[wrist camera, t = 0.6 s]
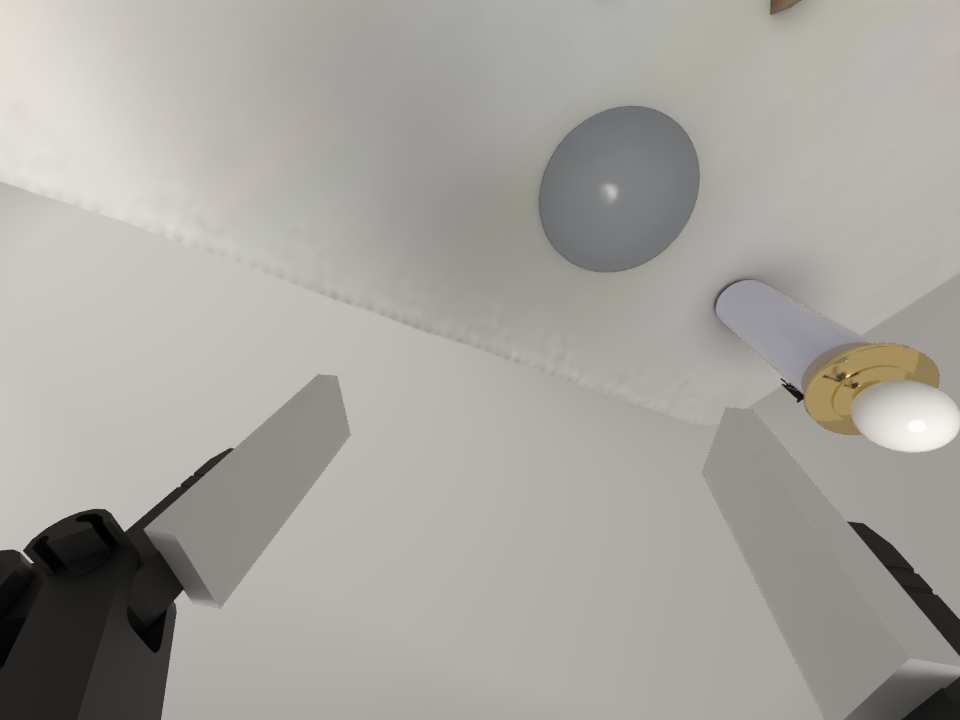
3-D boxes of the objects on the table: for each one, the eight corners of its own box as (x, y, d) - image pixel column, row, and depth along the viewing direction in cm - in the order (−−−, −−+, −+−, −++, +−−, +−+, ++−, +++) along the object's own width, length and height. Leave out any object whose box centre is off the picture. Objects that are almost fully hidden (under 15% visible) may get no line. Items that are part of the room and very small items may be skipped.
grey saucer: (526, 137, 31) (526, 137, 30) (694, 82, 28) (698, 79, 27) (553, 283, 36) (553, 285, 36) (697, 252, 33) (700, 254, 32)
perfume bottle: (697, 288, 34) (848, 412, 17) (766, 259, 32) (1021, 366, 15) (715, 338, 36) (867, 496, 19) (781, 314, 34) (1023, 466, 17)
